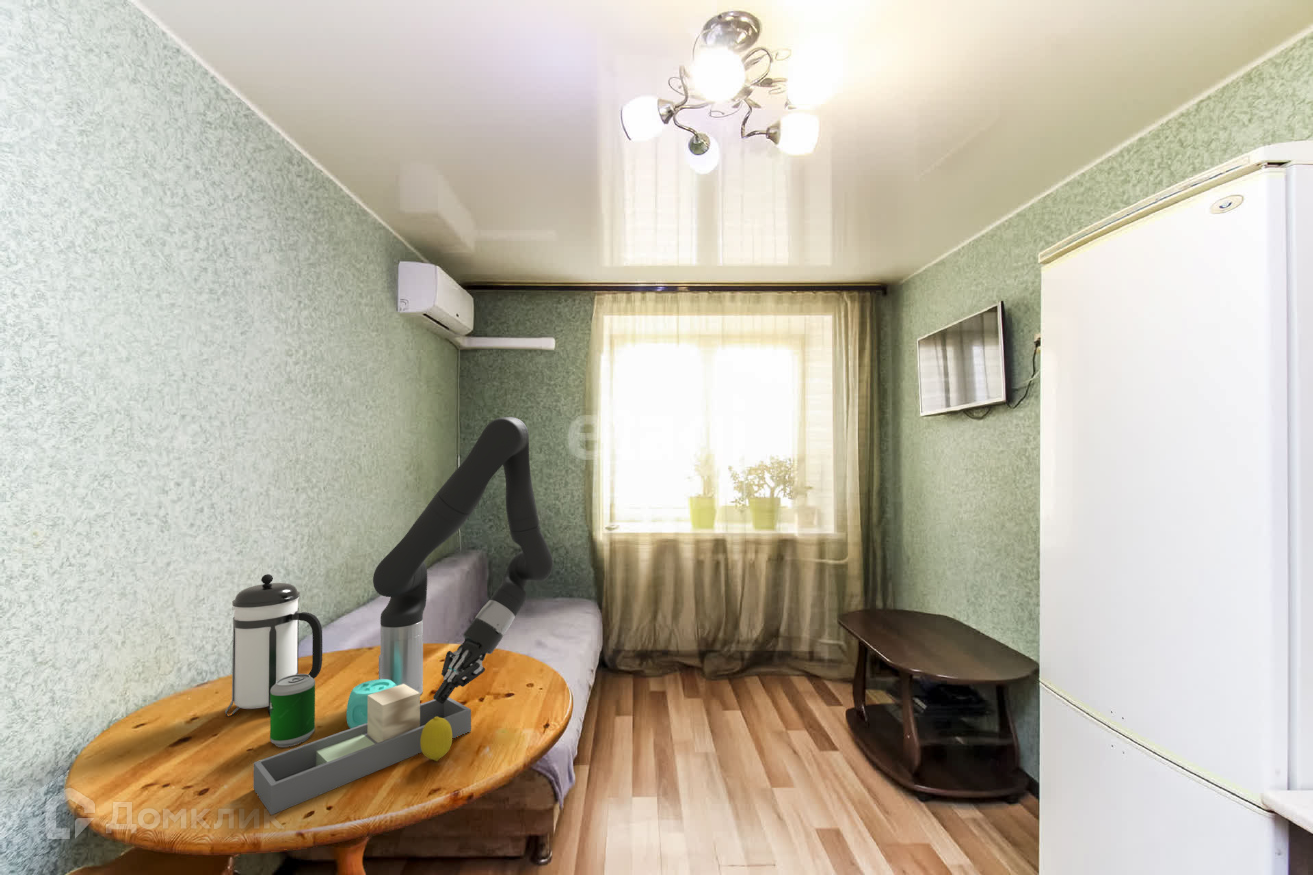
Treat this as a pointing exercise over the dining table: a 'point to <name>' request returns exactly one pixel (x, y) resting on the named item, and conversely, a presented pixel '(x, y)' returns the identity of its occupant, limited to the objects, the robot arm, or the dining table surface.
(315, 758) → the tray
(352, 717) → the decorative dice
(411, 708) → the ash block
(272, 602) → the coffee press
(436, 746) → the lemon
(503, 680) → the dining table surface
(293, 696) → the soda can
